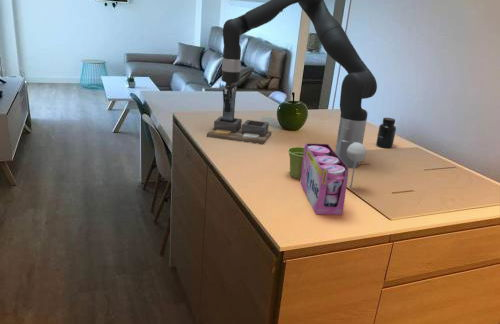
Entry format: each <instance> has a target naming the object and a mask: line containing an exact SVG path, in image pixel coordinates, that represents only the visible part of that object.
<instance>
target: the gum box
mask: <svg viewBox="0 0 500 324" xmlns="http://www.w3.org/2000/svg"><path fill="white" fill-rule="evenodd" d="M303 147H304V156H303V164H302V174H301V179H300V185H301V187H302V190H303V191H304V194H305V196H306V197H307V199H308V202H309V203H310V205H311V208H312V210H313V211H314V213H315V214H316V215H327V216H328V215H335V216H337V215H338V216H343V213H344V206H345V200H346V192H347V186H348V179H349V171H350V168H349V167H347V165H346V164H345V163H344V162H343V161H342V160H341V159H340V158H339V157H338V155H337V154H336V153H335V151H334V149H333V148H332V146H330V144H328V143H309V142H308V143H305V144H304V146H303Z"/></svg>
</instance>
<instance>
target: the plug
mask: <svg viewBox="0 0 500 324" xmlns="http://www.w3.org/2000/svg"><path fill="white" fill-rule="evenodd" d="M236 95H237V92H236V93H233V95H232V98H231V105H230V112H225V102H223V101H222V102H223V104H222V117H223V119H222V120H229V121H232V120H233V119H234V118H235V113H236V112H235V111H236V110H235V108H236V98H235V96H236ZM230 96H231V95H230ZM227 100H228V98H227Z"/></svg>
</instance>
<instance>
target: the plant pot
mask: <svg viewBox="0 0 500 324" xmlns="http://www.w3.org/2000/svg"><path fill="white" fill-rule="evenodd" d="M304 147H305V146H292V147H289V148H288V149H287V152H288V156H289V170H290V171H289V175H290V176H292V178H294V179H299V180H301V174H302V164H303V156H304Z"/></svg>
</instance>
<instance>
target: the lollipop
mask: <svg viewBox="0 0 500 324" xmlns="http://www.w3.org/2000/svg"><path fill="white" fill-rule="evenodd" d="M347 155H348V157H349V159H350V160H352V161H354V167H353V168H352V173H351V181H350V187H349V189H352V187H353V183H354V176H355V175H354V174H355V169H356V167H355V164H356V162H358V161H360V162H361V161H363V160H364V159H365V158H366V156H367V149H366V147H365V145H364V144H363V145H362V144H361V143H353V144H351V145H350V146H349V147H348V149H347Z"/></svg>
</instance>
